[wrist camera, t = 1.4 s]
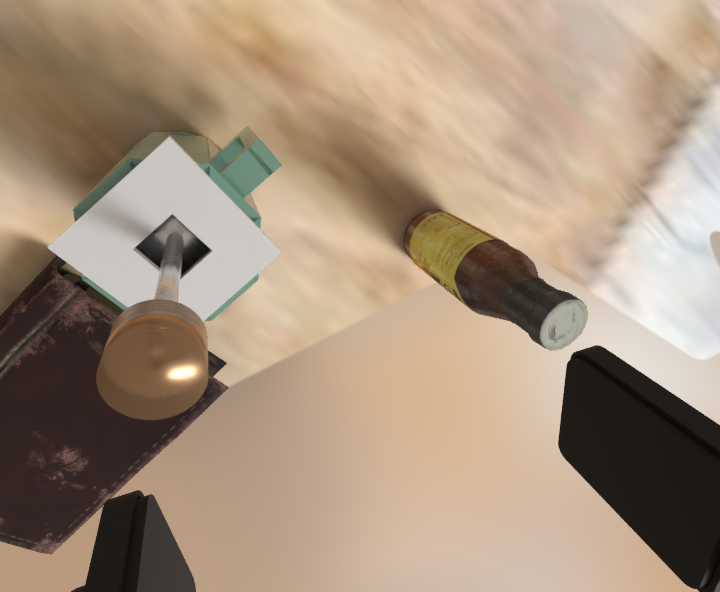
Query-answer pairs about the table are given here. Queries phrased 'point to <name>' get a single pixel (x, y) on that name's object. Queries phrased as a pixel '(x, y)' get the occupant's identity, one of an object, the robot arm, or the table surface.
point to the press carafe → (189, 205)
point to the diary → (67, 413)
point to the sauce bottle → (493, 278)
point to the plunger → (158, 337)
